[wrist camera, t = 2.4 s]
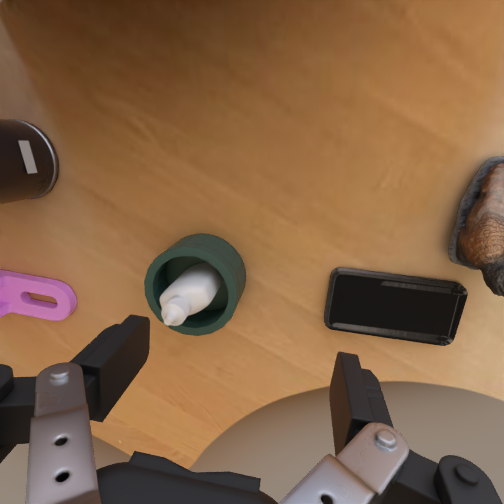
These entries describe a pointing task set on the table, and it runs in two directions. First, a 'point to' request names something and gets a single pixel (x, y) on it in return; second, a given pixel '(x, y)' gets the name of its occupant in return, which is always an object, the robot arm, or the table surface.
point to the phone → (394, 306)
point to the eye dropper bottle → (190, 293)
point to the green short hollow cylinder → (185, 256)
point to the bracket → (18, 300)
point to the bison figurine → (482, 226)
